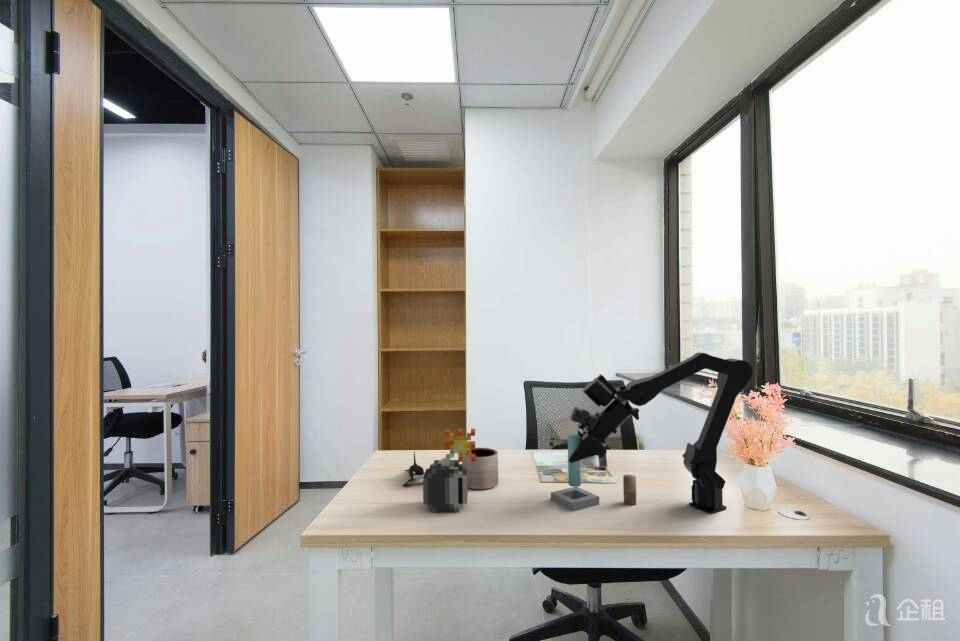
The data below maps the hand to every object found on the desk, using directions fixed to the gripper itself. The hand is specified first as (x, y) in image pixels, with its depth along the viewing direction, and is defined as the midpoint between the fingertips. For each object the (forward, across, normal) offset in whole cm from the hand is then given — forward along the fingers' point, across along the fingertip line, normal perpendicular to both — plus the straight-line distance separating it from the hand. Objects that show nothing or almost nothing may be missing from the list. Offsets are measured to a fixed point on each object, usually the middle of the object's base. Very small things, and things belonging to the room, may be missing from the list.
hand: (569, 459), depth 123 cm
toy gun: (0, -39, +17) cm, 43 cm away
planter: (+26, -11, -10) cm, 30 cm away
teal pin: (+4, 0, +6) cm, 7 cm away
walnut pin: (-3, -1, +19) cm, 19 cm away
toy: (+41, -14, -25) cm, 50 cm away
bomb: (+30, +7, -14) cm, 34 cm away
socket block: (+7, 0, +9) cm, 11 cm away
